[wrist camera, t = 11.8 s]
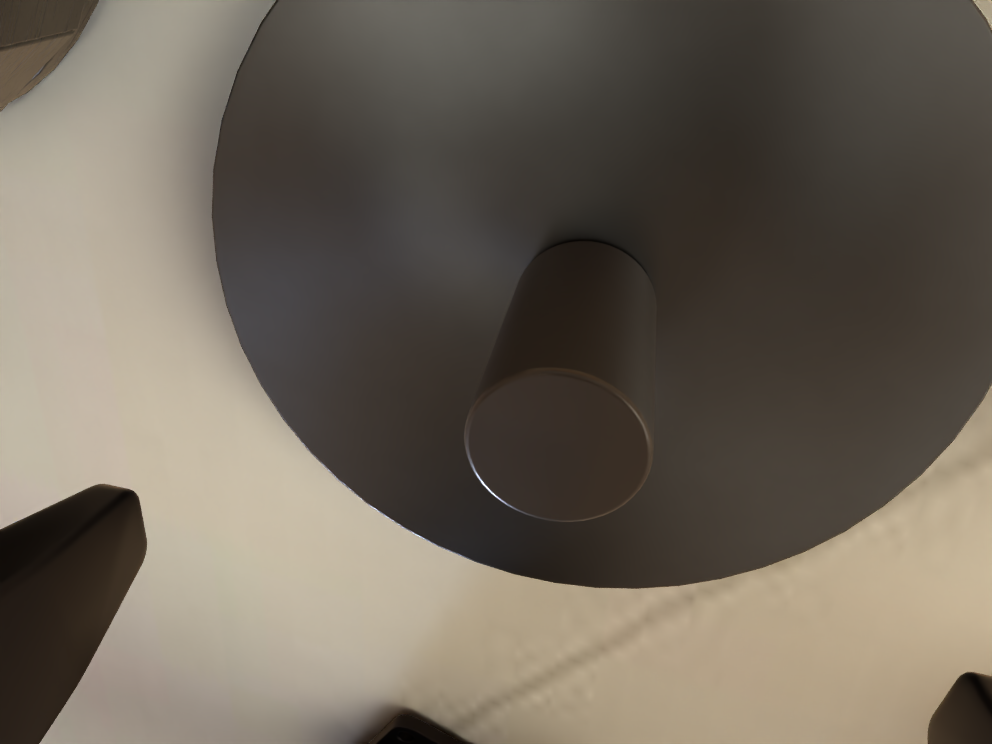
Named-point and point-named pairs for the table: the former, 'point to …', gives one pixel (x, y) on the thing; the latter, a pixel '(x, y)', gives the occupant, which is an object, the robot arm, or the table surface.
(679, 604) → the table surface
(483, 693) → the table surface
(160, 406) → the table surface
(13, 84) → the pot
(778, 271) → the lid
